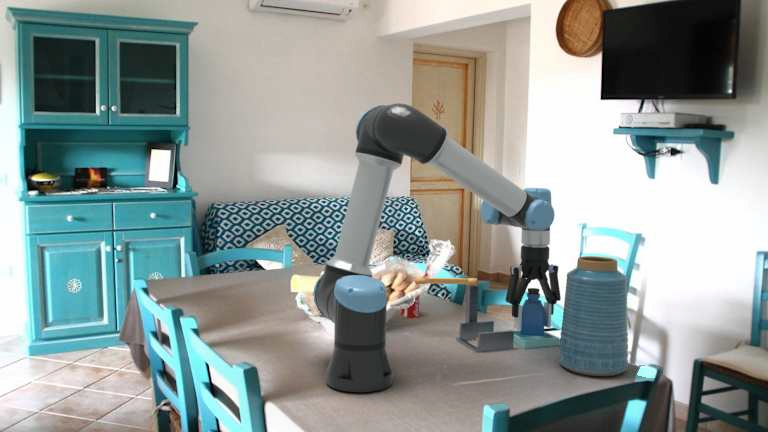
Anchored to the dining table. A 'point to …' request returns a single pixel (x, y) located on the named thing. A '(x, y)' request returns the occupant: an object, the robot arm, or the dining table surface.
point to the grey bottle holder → (481, 328)
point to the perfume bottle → (533, 314)
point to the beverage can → (411, 310)
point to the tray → (535, 340)
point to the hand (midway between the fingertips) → (532, 327)
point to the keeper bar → (446, 281)
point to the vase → (595, 319)
